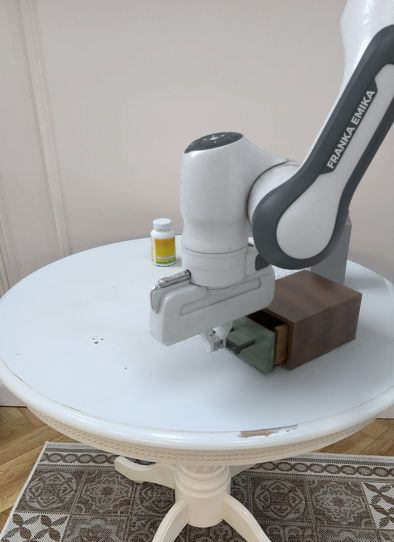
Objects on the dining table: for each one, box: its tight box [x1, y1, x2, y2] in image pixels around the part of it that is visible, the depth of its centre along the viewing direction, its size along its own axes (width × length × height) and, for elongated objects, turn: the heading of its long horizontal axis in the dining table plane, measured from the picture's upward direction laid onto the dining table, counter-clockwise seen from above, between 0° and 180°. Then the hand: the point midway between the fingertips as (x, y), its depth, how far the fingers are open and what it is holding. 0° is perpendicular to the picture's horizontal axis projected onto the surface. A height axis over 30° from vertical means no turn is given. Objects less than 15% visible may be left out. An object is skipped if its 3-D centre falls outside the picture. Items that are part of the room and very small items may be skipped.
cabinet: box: [261, 268, 363, 372], centre depth 89 cm, size 16×13×9 cm
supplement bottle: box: [150, 217, 177, 267], centre depth 118 cm, size 5×5×10 cm
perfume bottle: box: [307, 208, 353, 286], centre depth 105 cm, size 7×7×18 cm
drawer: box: [210, 310, 290, 375], centre depth 85 cm, size 19×11×7 cm, turn 127°
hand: (214, 348), depth 79 cm, fingers closed
